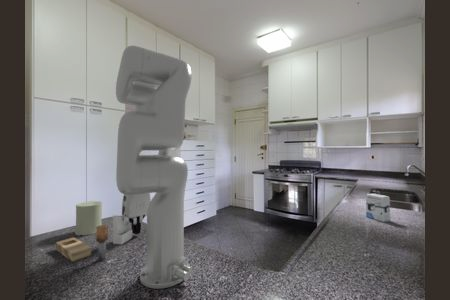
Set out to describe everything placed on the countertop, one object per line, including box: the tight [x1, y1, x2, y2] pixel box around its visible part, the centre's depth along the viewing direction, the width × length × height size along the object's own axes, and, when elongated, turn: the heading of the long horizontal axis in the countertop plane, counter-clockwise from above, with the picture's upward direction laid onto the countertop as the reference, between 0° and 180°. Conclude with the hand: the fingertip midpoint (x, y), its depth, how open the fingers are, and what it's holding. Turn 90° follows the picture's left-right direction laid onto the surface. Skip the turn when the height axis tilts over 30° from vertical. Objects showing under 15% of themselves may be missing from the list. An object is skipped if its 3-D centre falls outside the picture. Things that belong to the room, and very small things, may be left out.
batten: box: [55, 236, 92, 263], centre depth 65 cm, size 14×5×2 cm, turn 56°
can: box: [74, 200, 103, 236], centre depth 83 cm, size 9×9×12 cm
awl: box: [95, 224, 109, 262], centre depth 60 cm, size 3×3×10 cm
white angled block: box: [112, 215, 133, 245], centre depth 73 cm, size 4×10×9 cm
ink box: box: [365, 193, 391, 223], centre depth 99 cm, size 8×5×12 cm, turn 17°
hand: (136, 233), depth 78 cm, fingers closed
